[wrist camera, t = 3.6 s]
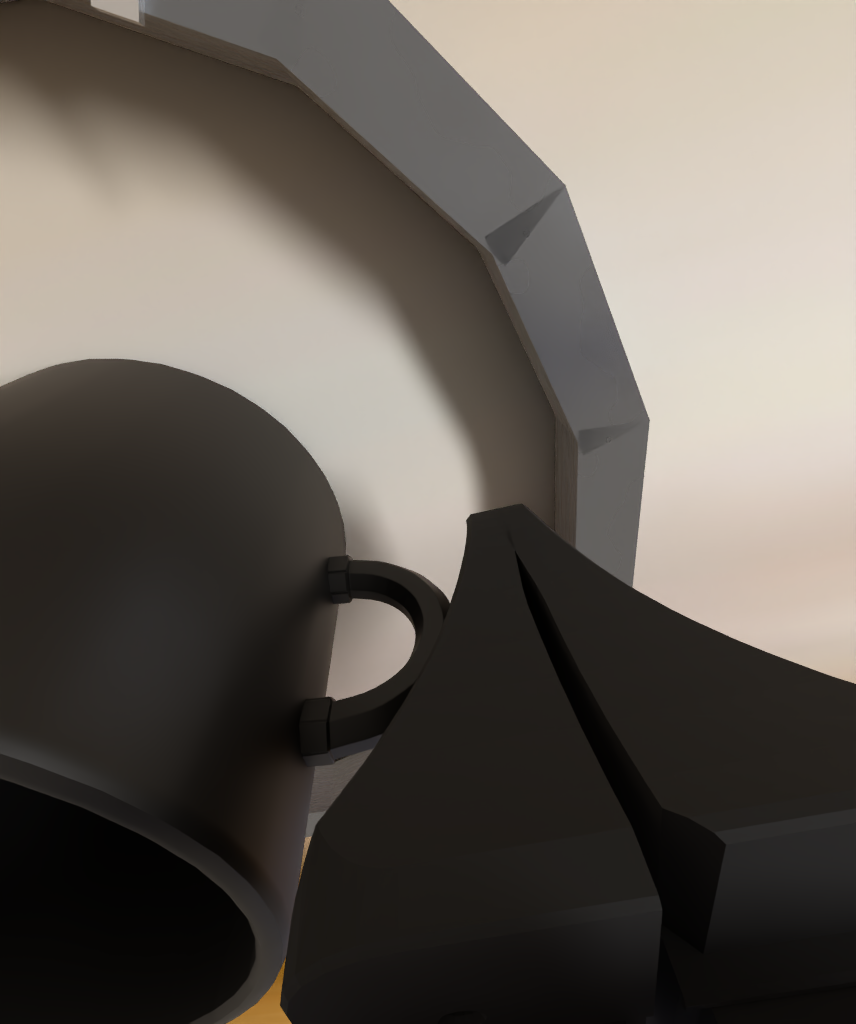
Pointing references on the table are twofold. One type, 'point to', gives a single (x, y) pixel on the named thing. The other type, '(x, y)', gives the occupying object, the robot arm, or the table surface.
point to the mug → (166, 690)
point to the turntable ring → (472, 212)
